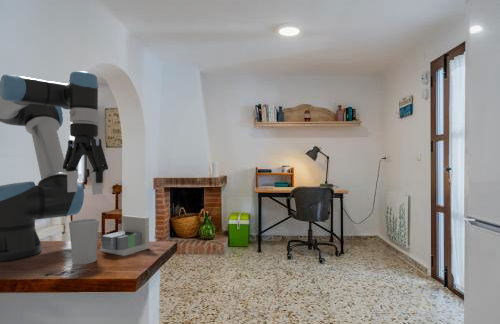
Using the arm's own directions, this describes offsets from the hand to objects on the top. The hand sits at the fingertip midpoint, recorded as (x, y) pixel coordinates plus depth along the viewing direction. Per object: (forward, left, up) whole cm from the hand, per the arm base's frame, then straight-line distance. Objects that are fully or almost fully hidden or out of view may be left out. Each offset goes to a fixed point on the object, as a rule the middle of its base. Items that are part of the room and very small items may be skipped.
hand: (84, 193), depth 94 cm
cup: (+2, -1, -20) cm, 21 cm away
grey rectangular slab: (+3, +10, -18) cm, 21 cm away
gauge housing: (+2, +13, -20) cm, 24 cm away
